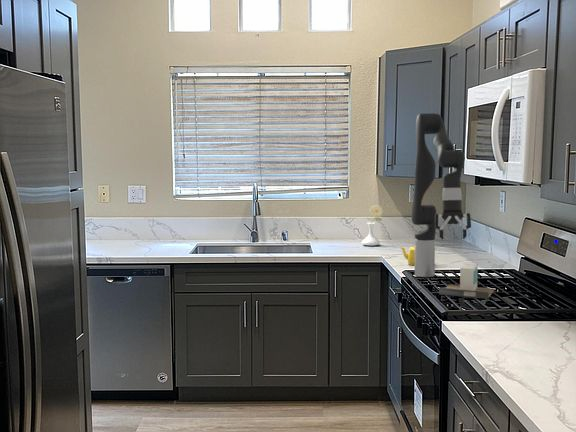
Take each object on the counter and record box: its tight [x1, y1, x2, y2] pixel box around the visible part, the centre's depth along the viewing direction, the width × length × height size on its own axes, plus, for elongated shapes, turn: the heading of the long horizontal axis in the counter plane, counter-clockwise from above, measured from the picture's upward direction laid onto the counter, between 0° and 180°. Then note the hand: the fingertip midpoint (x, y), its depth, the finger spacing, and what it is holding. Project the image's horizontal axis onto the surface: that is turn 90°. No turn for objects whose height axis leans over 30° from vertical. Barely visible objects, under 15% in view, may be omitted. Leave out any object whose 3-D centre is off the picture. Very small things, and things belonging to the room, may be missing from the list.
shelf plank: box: [438, 284, 496, 300], centre depth 253 cm, size 18×19×4 cm
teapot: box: [399, 246, 415, 267], centre depth 320 cm, size 15×14×10 cm
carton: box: [459, 263, 479, 291], centre depth 254 cm, size 5×10×10 cm, turn 153°
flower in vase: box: [361, 204, 384, 247], centre depth 379 cm, size 13×11×25 cm
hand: (452, 239), depth 253 cm, fingers open, 8 cm apart
